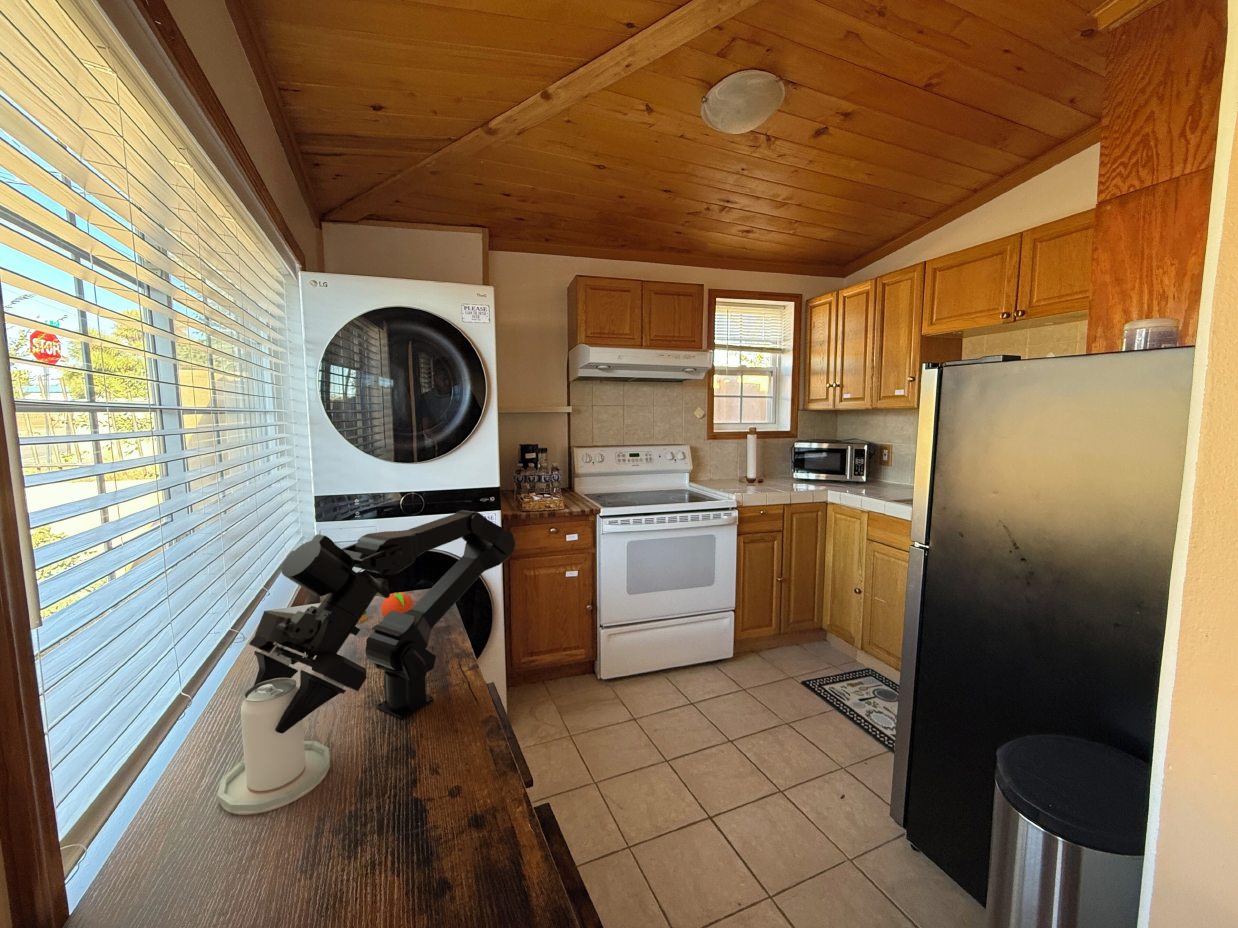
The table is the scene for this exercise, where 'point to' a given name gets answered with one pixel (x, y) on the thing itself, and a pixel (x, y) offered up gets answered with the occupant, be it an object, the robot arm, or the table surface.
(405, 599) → the clementine
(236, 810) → the saucer
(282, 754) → the can
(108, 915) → the table surface
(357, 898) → the table surface
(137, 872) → the table surface
